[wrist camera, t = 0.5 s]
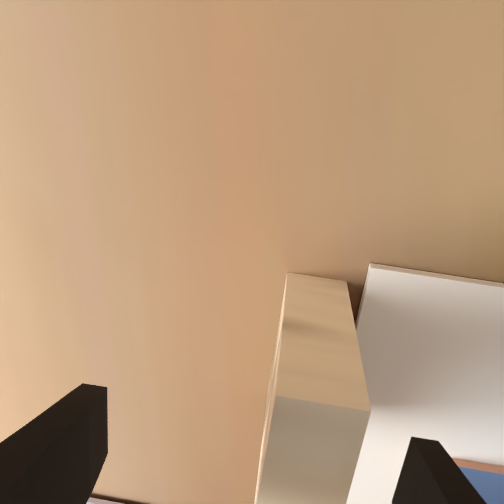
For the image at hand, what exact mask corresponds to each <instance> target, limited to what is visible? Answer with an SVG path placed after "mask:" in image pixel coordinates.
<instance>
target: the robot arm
mask: <svg viewBox="0 0 504 504" xmlns="http://www.w3.org/2000/svg"><path fill="white" fill-rule="evenodd" d="M107 454H108V428H107V387H102V386H96V385H89V384H81V385H80V386H78V387H77V388H76V389H74V390H73V391H71V392H70V393H69V394H67V395H66V396H64V397H63V398H62V399H60V400H59V401H58V402H56V403H55V404H54V405H52V406H51V407H50V408H48V409H47V410H46V411H44V412H43V413H41V414H40V415H39V416H37V417H36V418H35V419H33V420H32V421H30V422H29V423H28V424H26V425H25V426H23V427H22V428H21V429H19V430H18V431H16V432H15V433H14V434H12V435H11V436H9V437H8V438H7V439H5V440H4V441H2V442H1V443H0V504H123V503H118V502H113V501H107V500H102V499H97V498H91V497H90V496H91V493H92V491H93V488H94V486H95V484H96V481H97V479H98V476H99V474H100V471H101V469H102V466H103V464H104V461H105V459H106V456H107ZM392 504H487V503H486V502H485V501H484V499H483V498H482V497H481V496H480V494H479V493H478V492H477V490H476V489H475V488H474V487H473V485H472V484H471V483H470V481H469V480H468V479H467V478H466V476H465V475H464V474H463V472H462V471H461V470H460V468H459V467H458V466H457V464H456V463H455V462H454V460H453V459H452V458H451V456H450V455H449V454H448V453H447V451H446V450H445V449H444V447H443V446H442V445H441V444H440V442H439V441H437V440H430V439H424V438H418V437H412V436H411V439H410V443H409V446H408V449H407V452H406V456H405V459H404V462H403V466H402V469H401V472H400V476H399V479H398V482H397V486H396V489H395V492H394V495H393V499H392Z"/></svg>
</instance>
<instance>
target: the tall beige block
mask: <svg viewBox="0 0 504 504" xmlns="http://www.w3.org/2000/svg"><path fill="white" fill-rule="evenodd" d="M370 414H371V408H370V403H369V397H368V392H367V387H366V381H365V376H364V371H363V366H362V360H361V355H360V350H359V345H358V339H357V334H356V329H355V323H354V318H353V313H352V308H351V302H350V297H349V292H348V287H347V281H341V280H334V279H328V278H321V277H315V276H308V275H302V274H295V273H289V272H287V278H286V284H285V290H284V296H283V302H282V308H281V314H280V320H279V326H278V332H277V338H276V345H275V351H274V357H273V363H272V369H271V375H270V381H269V387H268V395H267V404H266V412H265V420H264V429H263V437H262V445H261V454H260V462H259V470H258V479H257V487H256V495H255V504H346V502H347V498H348V495H349V491H350V487H351V484H352V480H353V476H354V473H355V469H356V465H357V462H358V458H359V454H360V451H361V447H362V443H363V440H364V436H365V432H366V429H367V425H368V421H369V418H370Z"/></svg>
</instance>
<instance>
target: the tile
mask: <svg viewBox="0 0 504 504" xmlns="http://www.w3.org/2000/svg"><path fill="white" fill-rule="evenodd" d="M452 459H453V460H454V462H455V463H456V464H457V466H458V467H459V468H460V470H461V471H462V472H463V474H464V475H465V476H466V478H467V479H468V480H469V481H470V483H471V484H472V485H473V487H474V488H475V489H476V490H477V492H478V493H479V494H480V496H481V497H482V498H483V499H484V501H485V502H486V503H487V504H504V467H503V466H497V465H492V464H486V463H480V462H474V461H469V460H463V459H457V458H452Z"/></svg>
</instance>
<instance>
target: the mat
mask: <svg viewBox="0 0 504 504" xmlns="http://www.w3.org/2000/svg"><path fill="white" fill-rule="evenodd" d="M355 329H356V334H357V339H358V345H359V350H360V355H361V360H362V366H363V371H364V376H365V381H366V387H367V392H368V397H369V403H370V408H371V414H370V418H369V421H368V425H367V429H366V432H365V436H364V440H363V443H362V447H361V451H360V454H359V458H358V462H357V465H356V469H355V473H354V476H353V480H352V484H351V487H350V491H349V495H348V498H347V502H346V504H392V499H393V495H394V492H395V489H396V486H397V482H398V479H399V476H400V472H401V469H402V466H403V462H404V459H405V456H406V452H407V449H408V446H409V443H410V439H411V436H412V437H418V438H424V439H430V440H437V441H439V442H440V444H441V445H442V446H443V447H444V449H445V450H446V451H447V453H448V454H449V455H450V456H451V458H457V459H463V460H469V461H474V462H480V463H486V464H492V465H497V466H503V467H504V283H498V282H492V281H485V280H479V279H472V278H466V277H459V276H452V275H446V274H439V273H433V272H426V271H420V270H413V269H407V268H400V267H393V266H387V265H380V264H374V263H370V264H369V268H368V272H367V277H366V281H365V285H364V289H363V293H362V298H361V302H360V306H359V310H358V315H357V319H356V323H355Z"/></svg>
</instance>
